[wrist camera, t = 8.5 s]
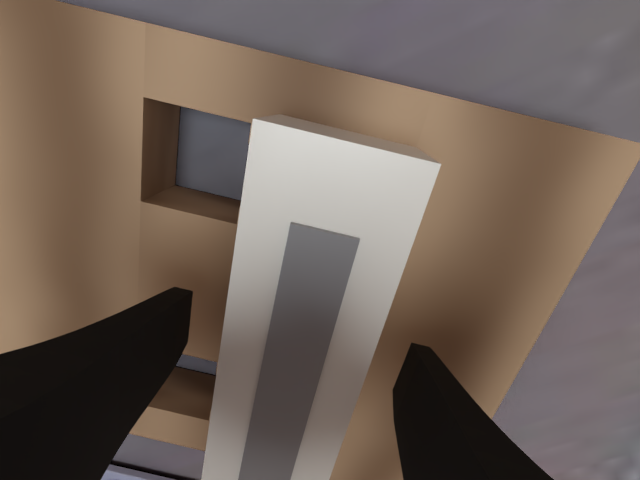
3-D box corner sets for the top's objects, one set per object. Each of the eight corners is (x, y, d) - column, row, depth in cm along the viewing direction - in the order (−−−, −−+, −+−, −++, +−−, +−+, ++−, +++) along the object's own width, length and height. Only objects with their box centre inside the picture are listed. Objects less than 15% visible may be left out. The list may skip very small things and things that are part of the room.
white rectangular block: (320, 417, 16) (309, 538, 12) (238, 397, 16) (195, 512, 12) (406, 140, 12) (443, 164, 7) (290, 112, 12) (251, 118, 7)
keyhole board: (44, 365, 17) (0, 403, 15) (8, -6, 12) (-74, -32, 9) (430, 455, 18) (442, 506, 15) (590, 137, 12) (647, 144, 9)
